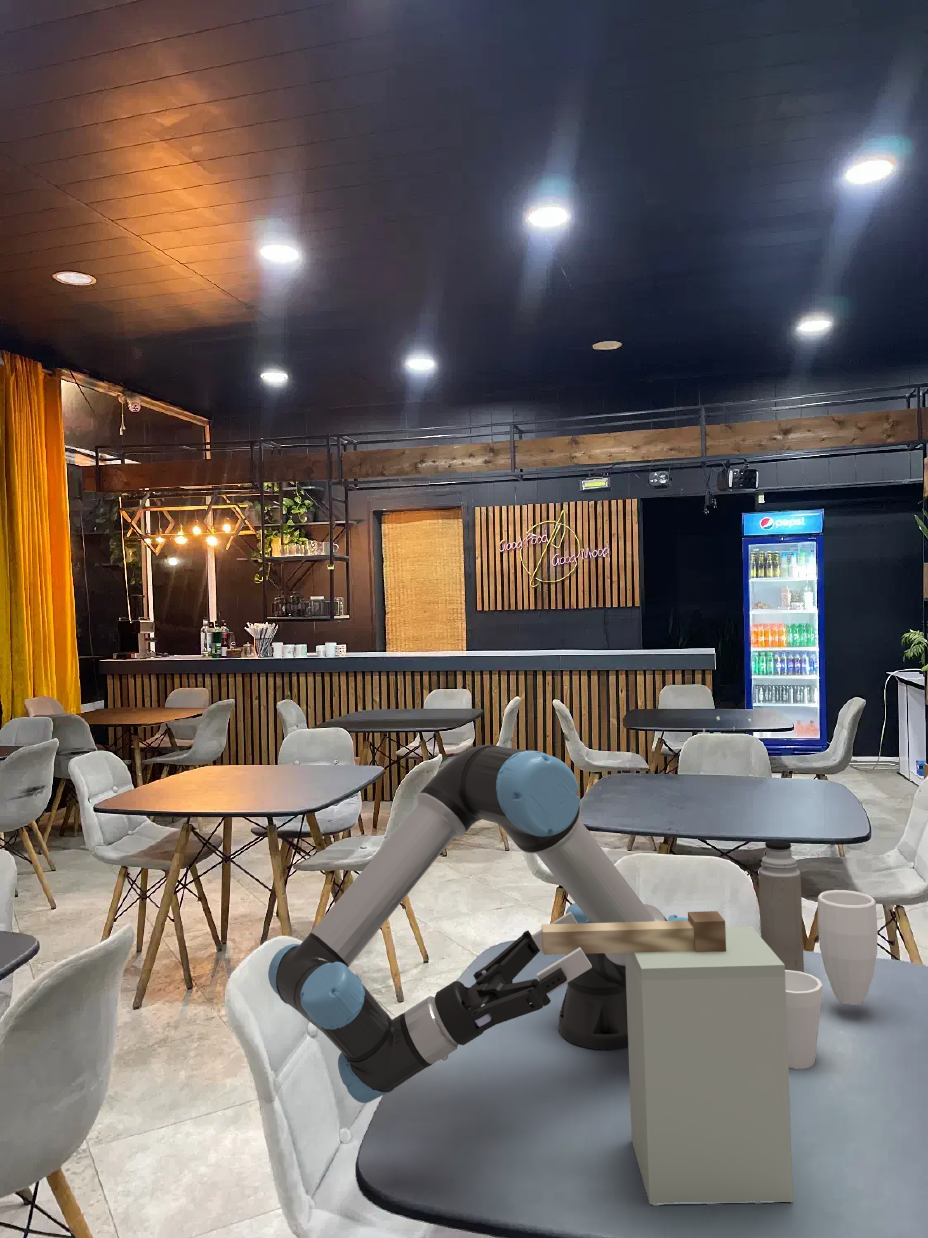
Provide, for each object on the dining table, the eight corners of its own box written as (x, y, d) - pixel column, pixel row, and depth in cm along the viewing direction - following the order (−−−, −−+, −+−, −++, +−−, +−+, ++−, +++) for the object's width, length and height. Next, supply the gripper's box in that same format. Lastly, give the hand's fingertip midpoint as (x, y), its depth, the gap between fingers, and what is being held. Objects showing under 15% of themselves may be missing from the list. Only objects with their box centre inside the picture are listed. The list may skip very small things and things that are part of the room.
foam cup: (829, 1076, 143) (826, 994, 143) (768, 1072, 144) (766, 991, 144) (818, 1047, 152) (815, 971, 152) (761, 1044, 154) (758, 968, 154)
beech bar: (718, 940, 122) (717, 911, 122) (726, 951, 118) (725, 921, 118) (542, 945, 122) (541, 916, 122) (544, 956, 118) (542, 926, 118)
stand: (649, 1205, 113) (641, 968, 113) (631, 1141, 127) (624, 930, 127) (793, 1203, 112) (784, 965, 112) (759, 1138, 126) (751, 926, 126)
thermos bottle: (796, 973, 183) (791, 836, 183) (810, 989, 175) (805, 846, 175) (757, 974, 183) (752, 838, 183) (769, 990, 175) (764, 848, 175)
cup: (852, 1033, 156) (847, 910, 156) (807, 1010, 166) (803, 894, 166) (895, 1020, 161) (890, 901, 161) (849, 999, 170) (845, 886, 170)
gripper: (464, 1004, 133) (585, 929, 132) (458, 1094, 108) (607, 1001, 107) (437, 961, 133) (558, 886, 132) (425, 1041, 108) (574, 948, 107)
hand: (580, 937), depth 120 cm, fingers open, 13 cm apart
